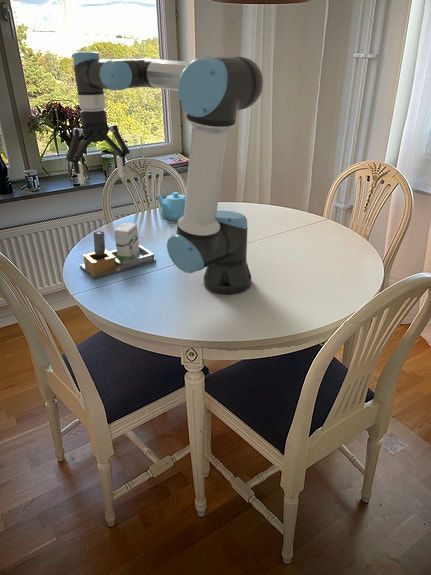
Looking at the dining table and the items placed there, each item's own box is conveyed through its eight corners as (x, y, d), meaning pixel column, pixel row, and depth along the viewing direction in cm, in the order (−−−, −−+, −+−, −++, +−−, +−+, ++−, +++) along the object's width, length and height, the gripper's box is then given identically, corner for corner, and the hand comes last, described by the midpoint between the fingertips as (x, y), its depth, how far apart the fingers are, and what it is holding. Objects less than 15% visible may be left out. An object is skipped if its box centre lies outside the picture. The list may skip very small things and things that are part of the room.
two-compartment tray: (156, 261, 156) (155, 248, 154) (94, 279, 144) (92, 265, 142) (140, 251, 165) (138, 238, 163) (80, 267, 153) (78, 253, 151)
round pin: (107, 267, 151) (105, 233, 145) (98, 269, 149) (96, 235, 143) (103, 263, 153) (101, 230, 148) (93, 265, 151) (91, 232, 146)
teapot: (161, 223, 192) (159, 199, 187) (157, 212, 205) (156, 189, 199) (196, 220, 194) (195, 196, 189) (190, 209, 207) (189, 187, 202)
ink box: (130, 264, 153) (127, 231, 147) (117, 262, 154) (113, 230, 148) (140, 254, 160) (137, 222, 154) (127, 252, 161) (124, 221, 155)
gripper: (125, 105, 143) (131, 172, 153) (47, 111, 130) (59, 183, 140) (136, 107, 138) (141, 176, 148) (56, 114, 125) (68, 189, 135)
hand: (102, 180), depth 144 cm, fingers open, 13 cm apart
